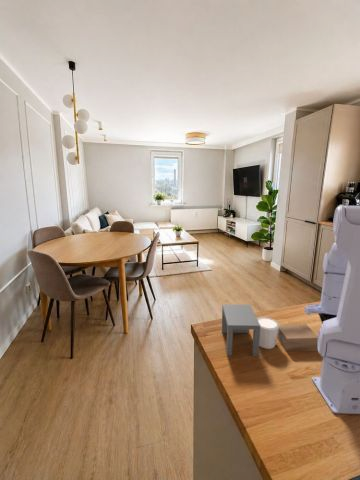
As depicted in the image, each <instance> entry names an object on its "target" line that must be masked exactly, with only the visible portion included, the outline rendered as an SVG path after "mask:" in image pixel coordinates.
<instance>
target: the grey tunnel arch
mask: <svg viewBox="0 0 360 480" xmlns="http://www.w3.org/2000/svg"><path fill="white" fill-rule="evenodd" d="M221 308H222V309H221V310H222V311H221V312H222V313H221V333H222V334H226V350H225V351H226V356H233V337H234V336H233V334H249V333H250V330H253V332H252V345H251V346H252V348H251V349H252V350H251V352H252V353H251V354H252V355H253V356H254V357H258V356H259V349H260V346H259V337H260V324H259V322H258V320H257V316H256V314H255V312H254V311H253V308H252V306H251V305H250V304H222V306H221Z"/></svg>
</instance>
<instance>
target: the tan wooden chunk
mask: <svg viewBox="0 0 360 480" xmlns="http://www.w3.org/2000/svg"><path fill="white" fill-rule="evenodd" d="M277 340H278V342H279V344H281V346H282V348H283V349H284V350H285V352H306V351H307V352H309V351H311V352H312V351H318V334H316V333H315V332H314V330H312V329H311V328H310V327H309V326H308V325H307V324H306V323H304V324H279V330H278V335H277Z"/></svg>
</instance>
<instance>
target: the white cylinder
mask: <svg viewBox="0 0 360 480" xmlns="http://www.w3.org/2000/svg"><path fill="white" fill-rule="evenodd" d="M256 318H257V317H256ZM257 320H258V322H259V324H260V337H259V347H261V348H264V349H267V350H269V349H273V348H275V347H276V345H277V340H278V339H277V335H278V330H279V325H280V323H279V322H278V321H277V320H275V319H274V318H271V317H266V316H262V317H258V318H257Z"/></svg>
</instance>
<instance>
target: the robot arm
mask: <svg viewBox="0 0 360 480" xmlns="http://www.w3.org/2000/svg"><path fill="white" fill-rule="evenodd" d="M332 222H333V223H332V230H333V231H332V232H333V236H334V243H333V244H332V246H331V248H330V250H329V252H326V253H325V254H324V257H323V260H322V261H323V262H322V270H323V280H322V288H321V294H320V295H321V297H320V303H316V304H310V305H304V310H303V311H304V313H305V314H306V315H312V314H317V315H318V316H319V318H320V322H321V325H320V328H319V330H318V331H317V336H318V350H317V352H318V354H319V355H320V356H321V357H322V360H321V361H322V362H321V371H320V376H311V380H312V382H313V383H314V385H315V387H316V388H317V390H318V391H319V392H320V394H321V396H322V397H323V399H324V401H325V402H326V404H327V405H328V407H329V409H330V411H331V412H333V414H356V415H360V205H345V204H339V205H338V206H337V207H336V208H335V210H334V214H333V221H332Z"/></svg>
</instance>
